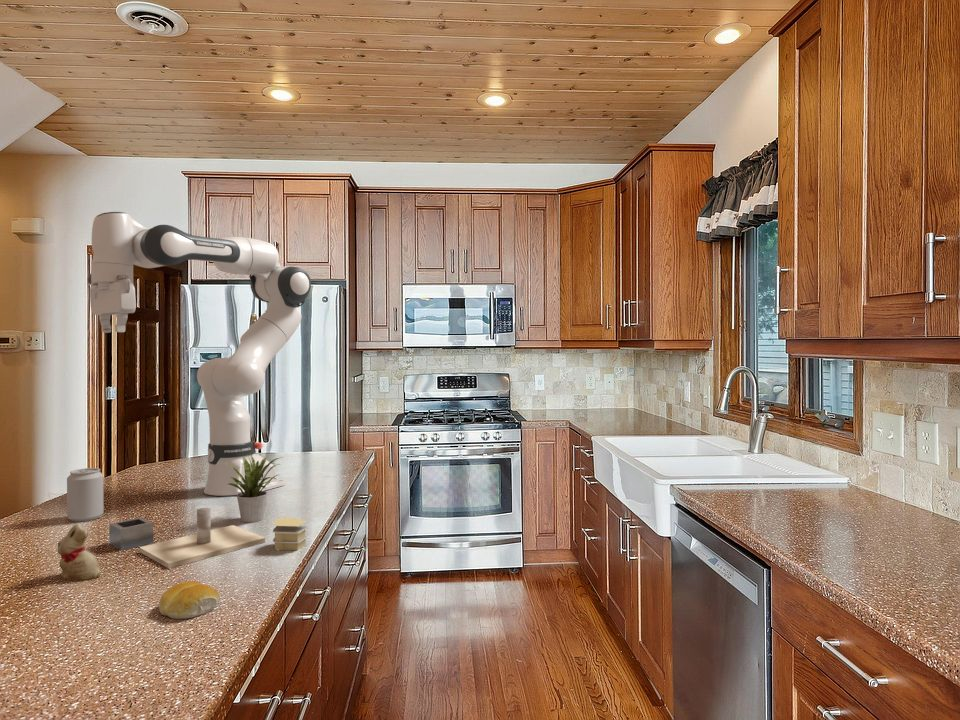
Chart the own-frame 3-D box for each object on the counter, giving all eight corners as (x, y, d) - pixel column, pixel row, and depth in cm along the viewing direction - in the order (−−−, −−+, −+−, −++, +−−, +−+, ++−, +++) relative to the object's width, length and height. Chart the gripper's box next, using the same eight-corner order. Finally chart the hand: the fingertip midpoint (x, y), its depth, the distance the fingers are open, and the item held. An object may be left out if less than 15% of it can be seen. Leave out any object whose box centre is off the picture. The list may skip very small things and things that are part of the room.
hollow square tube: (141, 536, 131) (141, 517, 131) (153, 543, 127) (153, 522, 127) (109, 544, 126) (109, 523, 126) (120, 550, 122) (120, 529, 122)
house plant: (300, 515, 148) (300, 450, 148) (258, 531, 136) (258, 460, 135) (257, 508, 154) (257, 446, 154) (213, 523, 142) (213, 455, 141)
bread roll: (195, 593, 102) (195, 570, 102) (227, 606, 97) (227, 582, 97) (146, 611, 95) (146, 586, 95) (178, 625, 90) (178, 599, 90)
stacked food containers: (320, 542, 129) (320, 517, 129) (299, 556, 120) (299, 530, 120) (279, 539, 131) (278, 514, 131) (255, 553, 122) (255, 526, 122)
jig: (232, 529, 137) (232, 495, 137) (265, 542, 128) (264, 505, 128) (139, 552, 122) (139, 513, 121) (168, 568, 113) (168, 527, 112)
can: (85, 523, 141) (85, 473, 141) (59, 521, 142) (58, 472, 142) (111, 514, 148) (110, 467, 148) (85, 513, 150) (85, 466, 150)
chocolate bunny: (89, 566, 114) (89, 514, 114) (104, 576, 109) (104, 522, 109) (55, 574, 110) (54, 521, 109) (69, 585, 105) (68, 529, 104)
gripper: (143, 275, 143) (143, 332, 143) (112, 280, 156) (112, 333, 157) (113, 272, 138) (114, 331, 139) (84, 278, 151) (85, 332, 152)
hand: (113, 332), depth 148 cm, fingers open, 8 cm apart
